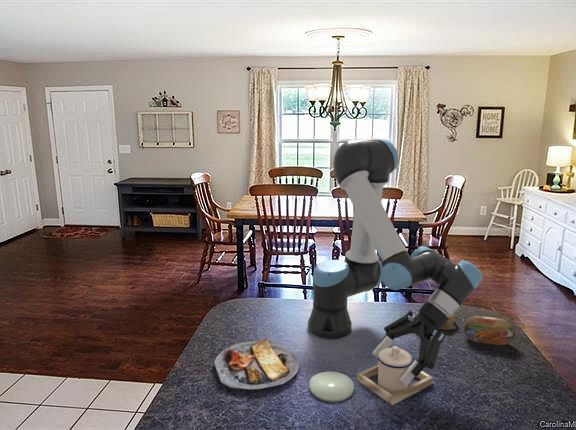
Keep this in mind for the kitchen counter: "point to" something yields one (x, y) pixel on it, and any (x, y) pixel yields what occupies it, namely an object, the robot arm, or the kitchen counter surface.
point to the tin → (489, 330)
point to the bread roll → (450, 323)
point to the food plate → (256, 364)
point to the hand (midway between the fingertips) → (388, 368)
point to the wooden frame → (397, 397)
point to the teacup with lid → (393, 369)
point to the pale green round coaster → (331, 386)
